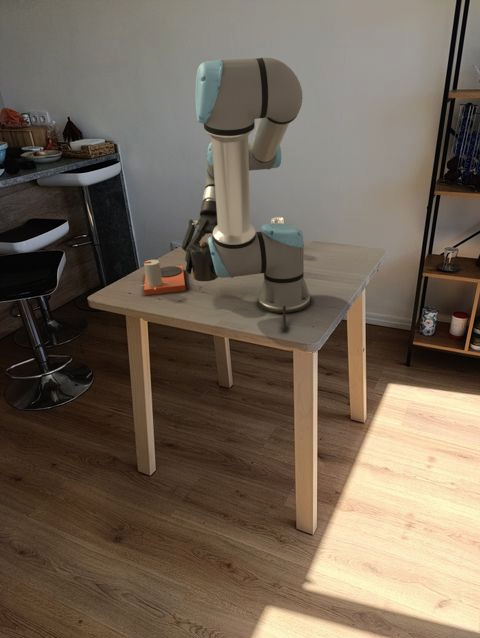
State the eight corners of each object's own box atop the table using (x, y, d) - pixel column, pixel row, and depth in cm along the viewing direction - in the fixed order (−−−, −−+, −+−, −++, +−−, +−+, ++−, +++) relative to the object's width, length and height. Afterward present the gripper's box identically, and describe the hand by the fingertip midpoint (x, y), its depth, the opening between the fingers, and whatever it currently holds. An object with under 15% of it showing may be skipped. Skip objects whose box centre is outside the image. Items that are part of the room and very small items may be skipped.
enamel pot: (221, 280, 147) (217, 244, 141) (193, 283, 146) (189, 247, 140) (218, 269, 154) (214, 236, 148) (192, 272, 153) (187, 238, 147)
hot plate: (185, 291, 155) (184, 285, 154) (141, 297, 153) (140, 290, 152) (183, 270, 171) (182, 264, 170) (143, 275, 169) (142, 269, 168)
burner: (182, 275, 162) (182, 274, 162) (155, 278, 161) (154, 277, 160) (181, 265, 170) (181, 265, 169) (155, 268, 168) (155, 268, 168)
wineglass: (282, 246, 188) (281, 216, 182) (288, 250, 183) (287, 219, 177) (268, 249, 186) (267, 218, 180) (274, 253, 182) (273, 222, 175)
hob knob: (162, 280, 159) (158, 258, 155) (162, 286, 155) (158, 263, 151) (147, 282, 158) (143, 259, 154) (147, 287, 154) (143, 264, 150)
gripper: (248, 212, 152) (237, 279, 147) (187, 210, 157) (174, 275, 152) (242, 199, 145) (230, 269, 140) (178, 198, 150) (165, 266, 145)
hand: (201, 272), depth 146 cm, fingers closed on enamel pot, 8 cm apart
